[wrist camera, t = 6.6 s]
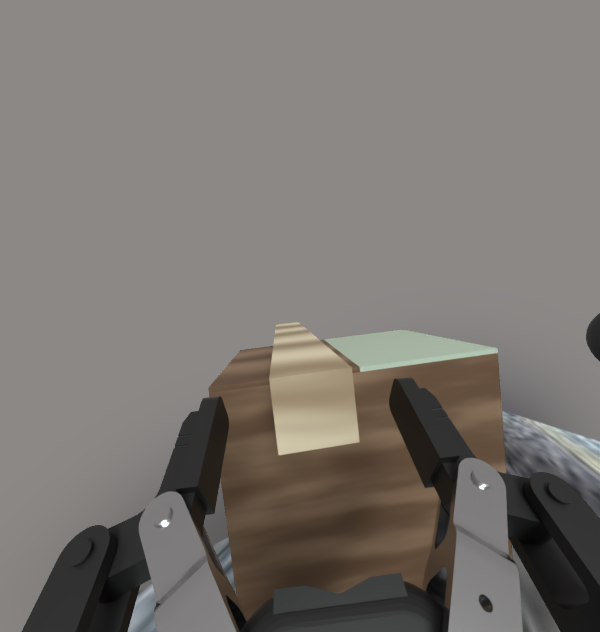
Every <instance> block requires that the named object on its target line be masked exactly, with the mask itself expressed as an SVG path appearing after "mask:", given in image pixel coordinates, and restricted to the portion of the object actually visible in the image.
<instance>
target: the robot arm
mask: <svg viewBox="0 0 600 632" xmlns="http://www.w3.org/2000/svg"><path fill="white" fill-rule="evenodd" d="M586 340H587V344H588V346H589V348H590V350H591V352H592V353H593V355H594V356H595V357H596V358H597V359H598V360H599V361H600V314H598V315H597V316H596V317H595V318H594V319H593V320H592V321H591V323H590V324H589V327H588V329H587V334H586ZM389 407H390V411H391V413H392V416H393V418H394V420H395V422H396V424H397V427H398V429H399V431H400V433H401V436H402V438H403V440H404V442H405V445H406V447H407V449H408V451H409V454H410V456H411V458H412V460H413V463H414V465H415V467H416V469H417V472H418V474H419V476H420V478H421V480H422V483H423V485H424V487H425V488H429V487H434V488H435V490H436V492H437V494H438V496H439V501H438V507H437V514H436V521H435V527H434V534H433V540H432V547H431V552H430V555H429V558H428V561H427V564H426V569H425V573H424V579H423V586H422V589H421V588H419V587H417V586H416V585H413V584H411V583H409V582H406V581H403V578H402V575H401V573H396V574H388V575H381V576H373V577H369V578H367V579H366V580H364V581H362V582H360V583H359V584H357V585H355V586H353V587H352V588H350V589H348V590H346V591H345V592H343V593H339V594H338V593H333V592H329V591H326V590H322V589H318V588H314V587H310V586H306V585H304V586H297V587H289V588H282V589H274V597H273V598H271V599H269V600H268V601H266V602H265V603H264V604H263V605H261V606H260V607H259V608H258V609H257V610H256V611H255V612H254V613H253V614H252V616H251V617H250V618H249V619H248V620H247V618H246V616H245V613H244V611H243V609H242V607H241V604H240V602H239V600H238V598H237V596H236V594H235V592H234V590H233V588H232V586H231V584H230V582H229V581H228V579H227V577H226V575H225V573H224V570H223V568H222V566H221V564H220V561H219V559H218V557H217V555H216V553H215V550H214V548H213V546H212V544H211V541H210V539H209V537H208V535H207V533H206V531H205V528H204V526H203V524H204V519H205V515H209V514H214V512H215V506H216V500H217V495H218V488H219V483H220V477H221V471H222V466H223V460H224V454H225V448H226V442H227V437H228V431H229V418H228V414H227V411H226V408H225V405H224V402H223V400H222V397H221V396H220V397H209V398H203V400H202V402H201V405H200V408H199V411H196V412H191V413H190V414H189V416H188V417H187V418H186V419H185V421H184V422H183V424H182V427H181V430H180V433H179V437H178V438H177V441H176V444H175V448H174V450H173V453H172V455H171V459H170V462H169V464H168V467H167V470H166V473H165V476H164V479H163V481H162V484H161V487H160V490H159V492H158V494H157V496H156V497H155V499H154V500H153V501H152V502H151V503H150V504H149V505H148V506H147V507H146V509H144V511H142V512H141V513H139V514H138V515H136V516H134V517H132V518H130V519H128V520H126V521H124V522H122V523H119V524H117V525H115V526H113V527H111V528H109V529H107V528H106V527H104V526H102V525H95V526H92V527H89V528H87V529H85V530H83V531H82V532H81V533H79V534H78V535H76V536H75V537H74V538H73V539H72V540H71V541H70V542H69V543H68V544H67V546H66V547H65V548H64V550H63V551H62V553H61V554H60V556H59V558H58V560H57V562H56V564H55V566H54V568H53V570H52V572H51V574H50V576H49V578H48V580H47V582H46V584H45V586H44V588H43V590H42V592H41V594H40V596H39V598H38V600H37V602H36V604H35V606H34V608H33V610H32V612H31V614H30V616H29V618H28V620H27V622H26V624H25V626H24V628H23V630H22V632H127V631H128V628H129V624H130V620H131V617H132V613H133V609H134V606H135V602H136V598H137V595H138V591H139V587H140V585H141V584H143V583H144V582H146V581H148V580H150V579H151V580H152V584H153V588H154V592H155V596H156V607H155V610H154V617H155V624H156V628H157V632H523V629H522V612H521V596H520V580H519V572H518V568H517V565H516V563H515V562H514V560H512V559H511V558H510V555H509V550H508V538H509V540H510V542H511V543H512V545H513V547H514V549H515V550H516V552H517V554H518V556H519V558H520V559H521V561H522V563H523V565H524V567H525V568H526V570H527V572H528V574H529V576H530V577H531V579H532V581H533V583H534V585H535V586H536V588H537V590H538V592H539V593H540V595H541V597H542V599H543V601H544V602H545V604H546V606H547V608H548V610H549V611H550V613H551V615H552V617H553V619H554V620H555V622H556V624H557V626H558V628H559V629H560V631H561V632H600V519H599V517H598V516H597V515H596V514H595V513H594V511H593V510H592V509H591V508H590V507H589V506H588V504H587V503H586V502H585V501H584V500H583V498H582V497H581V496H580V495H579V494H578V493H577V491H576V490H575V489H574V488H573V487H571V486H570V485H569V484H568V483H566V482H565V481H563V480H562V479H560V478H558V477H557V476H554V475H552V474H549V473H544V472H538V473H535V474H533V475H532V476H531V477H530V478H529V479H528V478H523V477H519V476H514V475H510V474H506V473H501V472H498V471H496V470H495V469H494V468H493V467H492V466H490V465H489V464H487V463H486V462H484V461H482V460H479V459H477V458H476V456H475V455H474V454H473V453H472V451H471V450H470V448H469V447H468V445H467V444H466V442H465V441H464V439H463V438H462V436H461V435H460V433H459V432H458V430H457V429H456V427H455V426H454V424H453V423H452V421H451V420H450V418H448V415H447V413H446V412H445V410H444V409H443V408H442V406H441V404H440V403H439V401H438V400H437V398H436V397H435V396H434V395H433V394H432V393H431V392H429V391H428V390H427V389H426V388H419V387H418V385H417V384H416V382H415V381H414V379H413V378H411V377H407V378H397V379H394V380H393V384H392V388H391V393H390V397H389Z"/></svg>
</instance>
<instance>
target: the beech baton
mask: <svg viewBox="0 0 600 632" xmlns="http://www.w3.org/2000/svg"><path fill="white" fill-rule="evenodd" d="M269 382H270V390H271V398H272V406H273V415H274V423H275V431H276V439H277V447H278V455H285V454H291V453H297V452H303V451H309V450H315V449H321V448H327V447H334V446H340V445H346V444H352V443H358V442H360V441H359V431H358V422H357V412H356V403H355V393H354V383H353V374H352V367H351V366H350V365H348V364H347V363H346V362H345V361H344V360H343V359H341V358H340V357H339V356H338V355H337V354H335V353H334V352H333V351H332V350H331V349H330V348H328V347H327V346H326V345H325V344H324V343H322V342H321V341H320V340H319V339H318V338H316V337H315V336H314V335H313V334H312V333H311V332H309V331H308V330H307V329H306V328H305V327H304V326H302V325H301V324H300V323H299V322H294V323H286V324H278V325H276V329H275V337H274V345H273V352H272V360H271V368H270V376H269Z"/></svg>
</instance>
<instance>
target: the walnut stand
mask: <svg viewBox="0 0 600 632" xmlns="http://www.w3.org/2000/svg"><path fill="white" fill-rule="evenodd" d="M320 341H321V342H322V343H324V344H325V345H326V346H327V347H328V348H330V349H331V350H332V351H333V352H334V353H335V354H337V355H338V356H339V357H340V358H341V359H343V360H344V361H345V362H346V363H347V364H348V365H350V366H351V367H352V374H353V383H354V393H355V403H356V412H357V422H358V431H359V441H360V442H358V443H352V444H346V445H340V446H334V447H327V448H321V449H315V450H309V451H303V452H297V453H291V454H285V455H278V447H277V439H276V431H275V423H274V415H273V406H272V398H271V390H270V382H269V376H270V368H271V360H272V352H273V346H270V347H262V348H255V349H246V350H240V352H239V353H238V354H237V355H236V356H235V357H234V359H233V360H232V361H231V362H230V363H229V364H228V366H227V367H226V368H225V369H224V370H223V372H222V373H221V374H220V375H219V376H218V377H217V379H216V380H215V381H214V382H213V383H212V384H211V386H210V387H209V396H210V397H220V396H221V397H222V400H223V402H224V405H225V408H226V411H227V414H228V418H229V431H228V437H227V442H226V448H225V454H224V460H223V466H222V471H221V484H222V491H223V499H224V506H225V513H226V521H227V528H228V535H229V543H230V550H231V558H232V565H233V573H234V580H235V587H236V595H237V598H238V600H239V602H240V604H241V607H242V609H243V611H244V613H245V616H246V618H247V620H248V619H249V618H250V617H251V616H252V614H253V613H254V612H255V611H256V610H257V609H258V608H259V607H260V606H261V605H263V604H264V603H265V602H266V601H268V600H269V599H271V598H273V597H274V589H282V588H289V587H297V586H304V585H306V586H310V587H314V588H318V589H322V590H326V591H329V592H333V593H338V594H339V593H343V592H345V591H346V590H348V589H350V588H352V587H353V586H355V585H357V584H359V583H360V582H362V581H364V580H366V579H367V578H369V577H373V576H381V575H388V574H396V573H401V575H402V578H403V581H406V582H409V583H411V584H413V585H416V586H417V587H419V588H421V589H422V586H423V579H424V573H425V569H426V564H427V561H428V558H429V555H430V552H431V547H432V540H433V534H434V527H435V521H436V514H437V507H438V501H439V496H438V494H437V492H436V490H435V488H434V487H429V488H425V487H424V485H423V483H422V480H421V478H420V476H419V474H418V472H417V469H416V467H415V465H414V463H413V460H412V458H411V456H410V454H409V451H408V449H407V447H406V445H405V442H404V440H403V438H402V436H401V433H400V431H399V429H398V427H397V424H396V422H395V420H394V418H393V416H392V413H391V411H390V407H389V397H390V393H391V388H392V384H393V380H394V379H397V378H407V377H411V378H413V379H414V381H415V382H416V384H417V385H418V387H419V388H426V389H427V390H428V391H429V392H431V393H432V394H433V395H434V396H435V397H436V398H437V400H438V401H439V403H440V404H441V406H442V408H443V409H444V410H445V412H446V413H447V415H448V418H450V420H451V421H452V423H453V424H454V426H455V427H456V429H457V430H458V432H459V433H460V435H461V436H462V438H463V439H464V441H465V442H466V444H467V445H468V447H469V448H470V450H471V451H472V453H473V454H474V455H475V456H476V458H477V459H479V460H482V461H484V462H486V463H487V464H489V465H490V466H492V467H493V468H494V469H495V470H496V471H498V472H501V473H506V462H505V448H504V434H503V420H502V406H501V392H500V379H499V364H498V350H497V348H493V347H488V346H483V345H478V344H473V343H468V342H463V341H458V340H453V339H448V338H443V337H437V336H432V335H427V334H422V333H417V332H412V331H407V330H397V331H389V332H381V333H373V334H365V335H357V336H350V337H341V338H333V339H325V340H320ZM508 550H509V555H510V558H511V559H512V546H511V542H510V540H509V538H508Z"/></svg>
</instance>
